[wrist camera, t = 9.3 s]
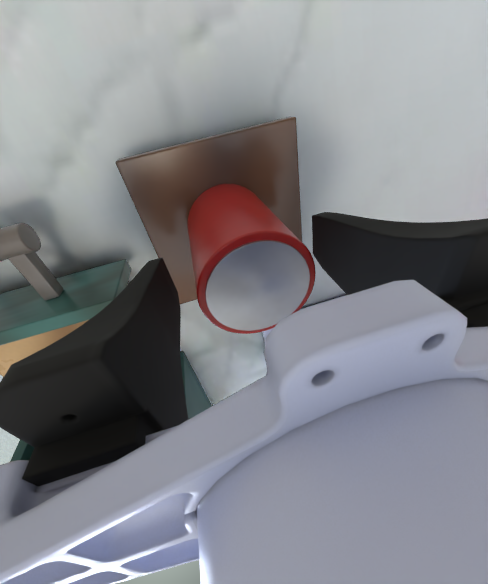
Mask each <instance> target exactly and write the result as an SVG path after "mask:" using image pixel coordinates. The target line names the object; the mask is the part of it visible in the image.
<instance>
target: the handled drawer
mask: <svg viewBox="0 0 488 584" xmlns="http://www.w3.org/2000/svg"><path fill="white" fill-rule="evenodd" d="M40 247H41V243H40V239H39V237H38V235H37V233H36V232H35V230H34V229H33V228H32V227H30V226H29V225H27V224H25V223H18V224H14V225H11V226H7V227H3V228H0V261H3V260H6V259H9V260H10V261H11V262H12V263H13V265H14V266H15V267H16V268H17V269H18V270H19V271H20V273H21V274H22V275H23V276H24V277H25V278H26V279H27V281H28V282H29V283H30V284H31V285H30V286H27V287H23V288H19V289H16V290H12V291H9V292H5V293H1V294H0V375H2V376H3V377H4V376H5V374H6V373H7V371H8V369H9V368H10V366H11V365H12V364H14V363H16V362H18V361H20V360H22V359H24V358H26V357H28V356H30V355H32V354H34V353H36V352H37V351H39V350H41V349H43V348H45V347H47V346H49V345H51V344H52V343H54V342H56V341H58V340H59V339H61V338H63V337H64V336H66V335H67V334H69V333H71V332H72V331H74V330H75V329H77V328H78V327H80V326H81V325H83V324H84V323H85V322H87V321H88V320H89V319H91V318H92V317H94V316H95V315H96V314H98V313H99V312H100V311H101V310H102V309H104V308H105V307H106V306H107V305H108V304H110V303H111V302H112V301H113V300H114V299H115V298H116V297H117V296H118V295H119V294H120V293H121V292H122V291H123V290H124V289H125V287H126V286H127V284H128V280H129V276H130V272H131V267H130V265H129V264H128V262H127V260H126V259H125V260H121V261H117V262H114V263H110V264H106V265H103V266H99V267H96V268H92V269H88V270H85V271H81V272H77V273H74V274H70V275H67V276H63V277H59V278H55V277H54V276H53V274H52V273H51V272H50V271H49V269H48V268H47V267H46V266H45V264H44V263H43V262H42V261H41V259H40V258H39V257H38V255H37V254H36V253H35V252H36V251H38V250H39V249H40Z"/></svg>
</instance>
